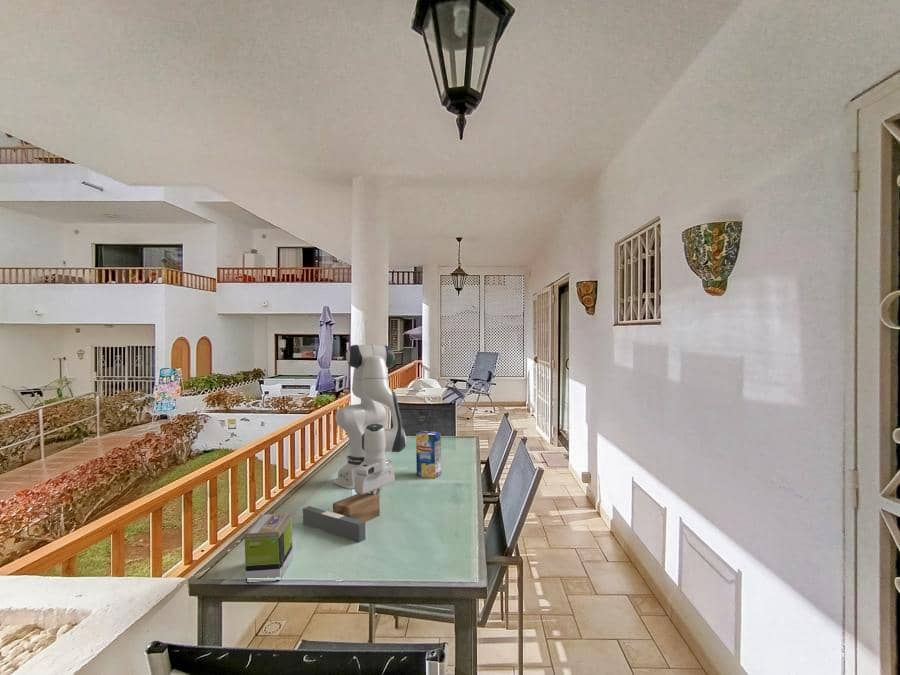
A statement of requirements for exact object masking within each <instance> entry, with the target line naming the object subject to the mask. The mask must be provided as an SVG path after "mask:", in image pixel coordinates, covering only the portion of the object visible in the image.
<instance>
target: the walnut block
mask: <svg viewBox="0 0 900 675" xmlns="http://www.w3.org/2000/svg"><path fill="white" fill-rule="evenodd" d="M375 494H376V493H375ZM375 494H371V493H370V492H368V493H365V494H363V495H361V494H357V493H356V494H354V495H351V496H348V497H346V498H343V499H341V500H338V501H335V502H332V512H334V513H337V514H341V515H344V516H346V517H350V518H353V519H357V520H361V521H364V522H365V523H366V522H369V521H371V520H373V519H376V518H378V517H380V516H381V515H380V498H379V495H375Z"/></svg>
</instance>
